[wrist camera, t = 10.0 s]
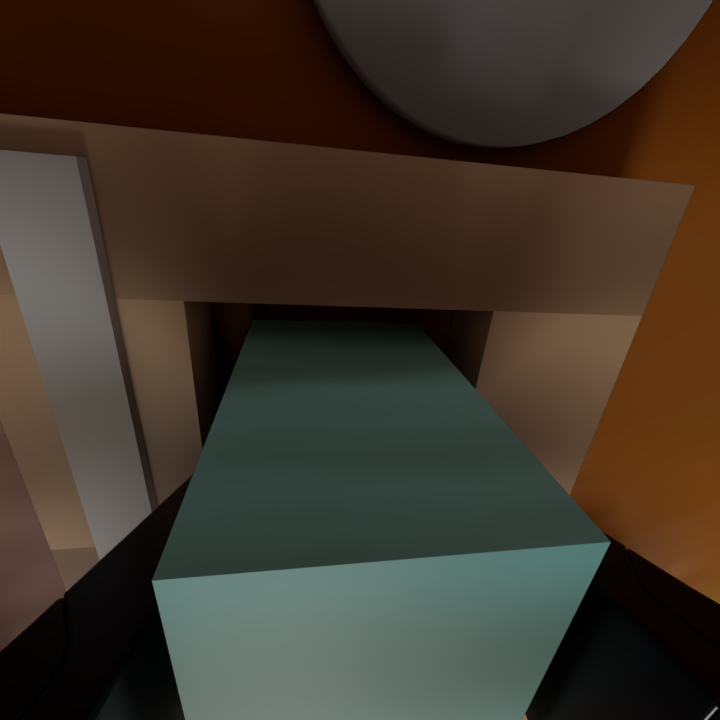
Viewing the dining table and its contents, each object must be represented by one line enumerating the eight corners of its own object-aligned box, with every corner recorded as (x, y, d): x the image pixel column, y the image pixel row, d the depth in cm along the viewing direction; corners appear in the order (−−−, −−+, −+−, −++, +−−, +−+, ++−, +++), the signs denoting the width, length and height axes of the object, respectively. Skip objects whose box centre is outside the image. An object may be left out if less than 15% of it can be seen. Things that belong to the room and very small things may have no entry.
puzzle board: (-14, 124, 7) (-147, 95, 5) (618, 187, 9) (709, 185, 7) (164, 735, 17) (145, 812, 15) (451, 693, 19) (470, 754, 17)
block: (252, 319, 9) (152, 580, 3) (417, 323, 10) (611, 541, 4) (259, 456, 11) (204, 800, 5) (398, 451, 12) (508, 745, 6)
